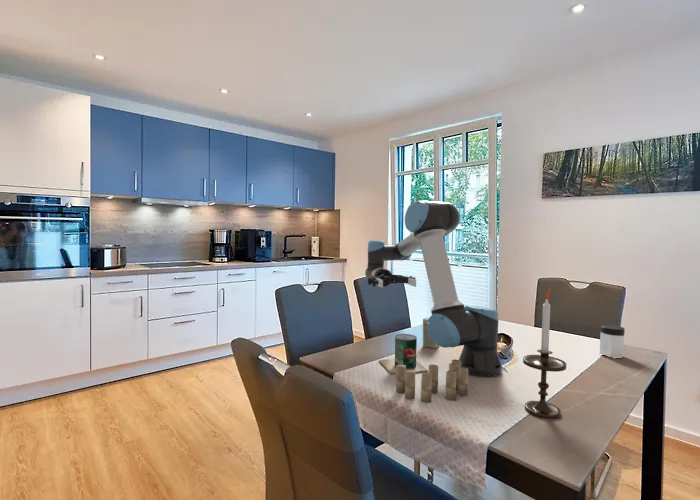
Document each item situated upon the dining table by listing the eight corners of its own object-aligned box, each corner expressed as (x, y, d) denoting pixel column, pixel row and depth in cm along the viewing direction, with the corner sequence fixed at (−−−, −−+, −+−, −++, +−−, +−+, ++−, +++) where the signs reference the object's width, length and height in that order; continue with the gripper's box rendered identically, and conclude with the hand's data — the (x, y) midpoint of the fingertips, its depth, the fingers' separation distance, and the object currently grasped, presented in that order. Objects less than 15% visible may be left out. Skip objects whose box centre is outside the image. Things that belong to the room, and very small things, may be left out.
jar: (593, 353, 162) (595, 325, 161) (606, 351, 165) (608, 323, 164) (615, 360, 153) (617, 330, 153) (628, 357, 157) (630, 328, 156)
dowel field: (460, 383, 128) (461, 359, 127) (473, 404, 112) (474, 377, 112) (393, 381, 129) (394, 358, 128) (398, 402, 113) (398, 375, 113)
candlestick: (571, 413, 108) (577, 289, 106) (551, 424, 101) (557, 292, 100) (534, 399, 116) (538, 284, 115) (513, 408, 110) (518, 287, 108)
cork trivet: (412, 359, 151) (413, 357, 151) (428, 371, 138) (428, 370, 138) (378, 361, 148) (378, 359, 148) (390, 374, 135) (391, 373, 135)
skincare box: (439, 346, 169) (440, 318, 168) (436, 348, 165) (436, 320, 164) (425, 343, 172) (426, 316, 171) (422, 346, 168) (422, 318, 168)
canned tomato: (397, 361, 147) (398, 332, 146) (418, 364, 144) (419, 335, 143) (391, 368, 139) (392, 338, 139) (413, 371, 136) (414, 340, 136)
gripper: (408, 284, 172) (428, 292, 152) (354, 285, 166) (367, 294, 146) (408, 268, 172) (429, 273, 151) (354, 268, 166) (367, 274, 145)
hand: (398, 283), depth 148 cm, fingers open, 13 cm apart
